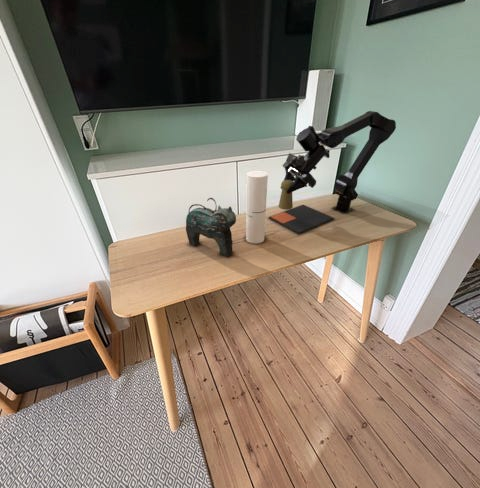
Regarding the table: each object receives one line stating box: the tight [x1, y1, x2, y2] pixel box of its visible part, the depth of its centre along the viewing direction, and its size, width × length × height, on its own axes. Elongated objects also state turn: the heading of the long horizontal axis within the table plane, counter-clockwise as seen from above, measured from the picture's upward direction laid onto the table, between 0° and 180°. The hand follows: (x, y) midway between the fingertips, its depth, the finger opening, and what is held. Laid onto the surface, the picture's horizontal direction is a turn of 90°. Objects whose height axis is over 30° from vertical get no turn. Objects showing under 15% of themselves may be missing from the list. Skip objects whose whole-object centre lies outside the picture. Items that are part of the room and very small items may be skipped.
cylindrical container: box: [245, 170, 269, 244], centre depth 93 cm, size 7×7×25 cm
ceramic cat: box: [185, 197, 237, 258], centre depth 89 cm, size 20×6×20 cm, turn 59°
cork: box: [278, 179, 294, 211], centre depth 107 cm, size 6×6×11 cm
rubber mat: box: [268, 204, 334, 235], centre depth 114 cm, size 22×18×1 cm
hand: (284, 190), depth 105 cm, fingers closed on cork, 5 cm apart
